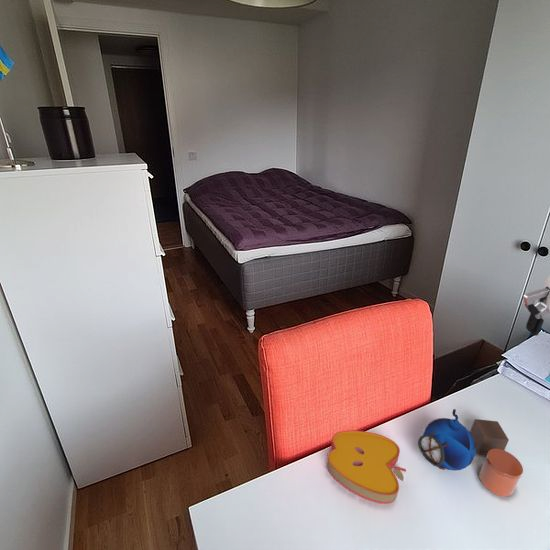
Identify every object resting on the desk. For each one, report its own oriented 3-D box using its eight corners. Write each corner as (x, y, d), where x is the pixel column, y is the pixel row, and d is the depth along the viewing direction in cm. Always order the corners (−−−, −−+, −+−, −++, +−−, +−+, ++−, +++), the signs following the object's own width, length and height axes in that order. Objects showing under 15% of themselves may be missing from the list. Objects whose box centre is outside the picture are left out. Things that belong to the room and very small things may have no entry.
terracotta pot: (504, 470, 72) (513, 450, 69) (519, 498, 66) (529, 478, 64) (474, 466, 72) (482, 446, 70) (486, 494, 67) (496, 474, 64)
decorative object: (321, 488, 67) (402, 517, 62) (323, 475, 65) (406, 503, 61) (334, 434, 79) (402, 455, 74) (336, 421, 77) (406, 442, 73)
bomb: (405, 451, 75) (419, 399, 69) (440, 434, 79) (456, 384, 73) (442, 491, 67) (461, 436, 61) (478, 470, 72) (500, 417, 65)
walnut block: (491, 437, 79) (497, 421, 77) (501, 456, 75) (509, 439, 73) (468, 434, 80) (474, 418, 78) (478, 453, 75) (484, 437, 73)
